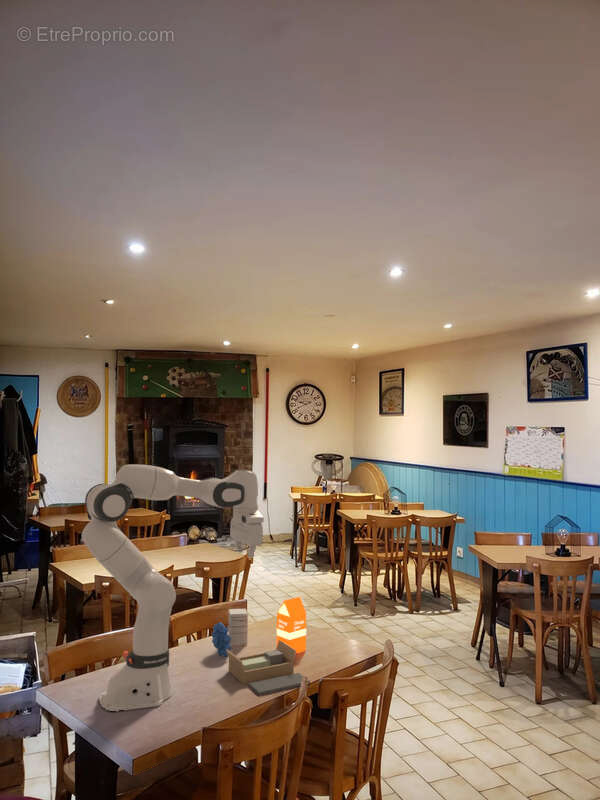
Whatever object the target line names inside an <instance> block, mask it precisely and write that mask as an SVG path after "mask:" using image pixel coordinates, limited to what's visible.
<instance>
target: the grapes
mask: <svg viewBox="0 0 600 800" xmlns="http://www.w3.org/2000/svg"><path fill="white" fill-rule="evenodd" d="M212 630H213V632H212V634H211V637H212V639H211V643H212V644H213V647H214V648H215V649H216V650H217V654H218V655H219V656H223V657H228V655H227V652H226V649H228V650H229V651H230V652H231V650H232V646H231V645H230V644H229V643H230V642H231V637H230V636H229V635H228V627H226V626H225V625H224V624H223V623H222V622H220V621H219V622H218V623H216V624H214V625H213V627H212Z"/></svg>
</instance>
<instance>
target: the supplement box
mask: <svg viewBox="0 0 600 800" xmlns="http://www.w3.org/2000/svg"><path fill="white" fill-rule="evenodd" d="M248 621H249V614H248V611H247V608H231V609H228V627H227V629H228V633H227V634H228V635H229V636H230V637H231V642H230V643H229V644H230V645H231V647H239V646H240V647H241V646H248V627H249V626H248V625H249V624H248V623H249V622H248Z"/></svg>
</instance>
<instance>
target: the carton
mask: <svg viewBox="0 0 600 800" xmlns="http://www.w3.org/2000/svg"><path fill="white" fill-rule="evenodd" d="M275 650H278V651H280V652H281V653H282V654H283V664H279V665H274V666H269V667H264V668H259V669H254V670H249V671H245V670H244V667H243V664H242V661H243V660H248V659H253V658H258V657H264V656H265V652H261V653H256V654H251V655H250V654H249V655H246V656H245V655H244V656H240V657H237V655H235V654H234V653H233V652H231V651H229V650H228V649H226V652H227V655H228V656H227V657H228V672H229V673H231V674H232V675H233V676H234V677H235V678H236V679H237V680H238V681H239V682H240V683H242V684H243V685H246V684H247V685H249V683H253V682H258V681H263V680H267V679H272V678H277V677H281V676H286V675H291V674H295V673H294V668H295V667H294V660H295V657H296V650H295V649H293V648H292V647H290V646H288V645H287V644H285V643H284V642H282V641H281V640H279V642H278V645H277V644H276V649H275Z"/></svg>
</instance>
